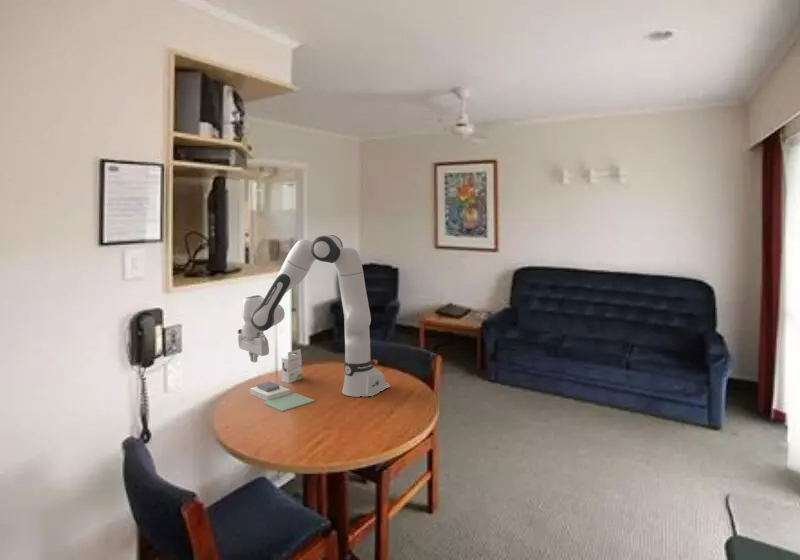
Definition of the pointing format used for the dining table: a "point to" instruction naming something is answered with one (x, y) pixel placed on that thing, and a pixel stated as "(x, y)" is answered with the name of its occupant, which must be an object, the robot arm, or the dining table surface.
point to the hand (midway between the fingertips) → (253, 361)
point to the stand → (269, 393)
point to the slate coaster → (268, 386)
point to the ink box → (292, 367)
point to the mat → (288, 402)
